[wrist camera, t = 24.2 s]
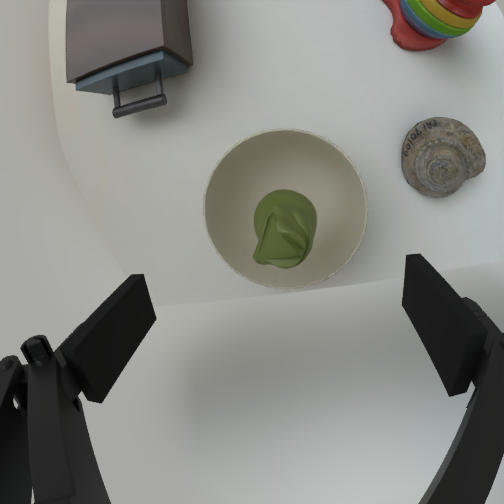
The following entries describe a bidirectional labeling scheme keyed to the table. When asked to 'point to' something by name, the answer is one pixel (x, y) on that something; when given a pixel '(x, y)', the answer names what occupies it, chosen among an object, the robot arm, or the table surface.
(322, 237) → the bowl
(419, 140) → the fossilized seashell
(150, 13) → the cabinet
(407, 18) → the stacking bear
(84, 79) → the drawer
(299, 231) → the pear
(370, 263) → the table surface
